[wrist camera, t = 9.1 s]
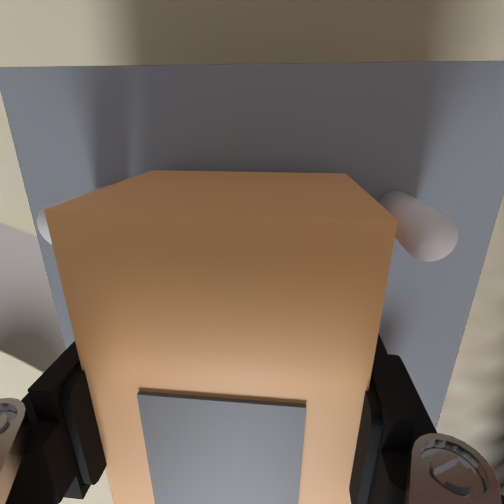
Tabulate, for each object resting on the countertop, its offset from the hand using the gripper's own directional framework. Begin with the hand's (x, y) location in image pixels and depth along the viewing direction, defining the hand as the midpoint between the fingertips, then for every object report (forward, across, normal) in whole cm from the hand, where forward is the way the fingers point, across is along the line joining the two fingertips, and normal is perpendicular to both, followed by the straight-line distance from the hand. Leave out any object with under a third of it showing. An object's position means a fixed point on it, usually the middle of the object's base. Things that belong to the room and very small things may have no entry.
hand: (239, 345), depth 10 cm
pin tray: (+4, 0, 0) cm, 4 cm away
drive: (+2, 0, 0) cm, 2 cm away
